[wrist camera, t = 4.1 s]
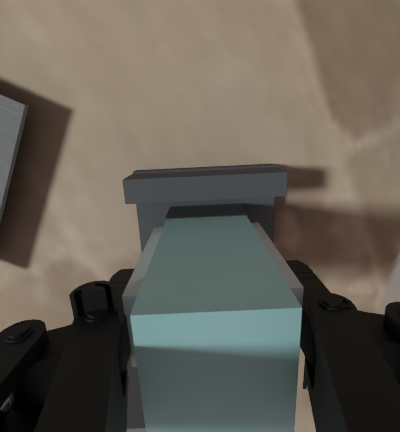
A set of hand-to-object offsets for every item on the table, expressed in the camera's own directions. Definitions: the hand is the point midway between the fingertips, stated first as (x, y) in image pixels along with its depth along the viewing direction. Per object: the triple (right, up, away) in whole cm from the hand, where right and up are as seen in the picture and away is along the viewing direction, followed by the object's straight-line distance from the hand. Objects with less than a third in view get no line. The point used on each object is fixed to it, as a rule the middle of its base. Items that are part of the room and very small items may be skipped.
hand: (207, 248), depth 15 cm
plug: (0, 0, +2) cm, 2 cm away
